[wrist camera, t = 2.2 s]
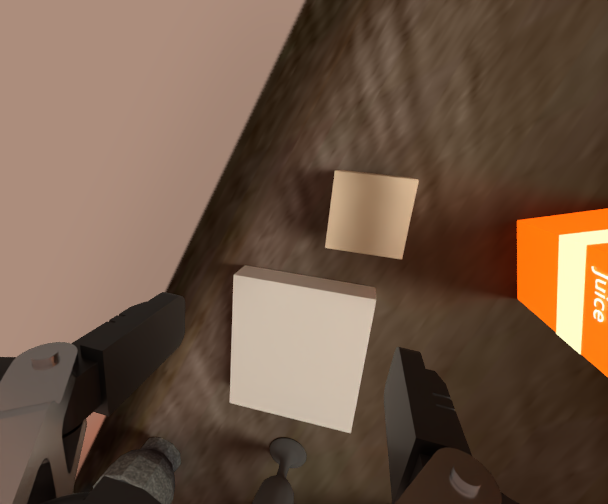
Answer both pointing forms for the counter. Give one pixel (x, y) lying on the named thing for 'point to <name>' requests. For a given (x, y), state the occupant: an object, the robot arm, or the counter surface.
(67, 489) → the robot arm
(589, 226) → the orange juice
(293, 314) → the cream board
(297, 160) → the counter surface
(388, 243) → the birch block
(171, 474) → the mortar and pestle
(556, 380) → the counter surface
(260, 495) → the sundae
